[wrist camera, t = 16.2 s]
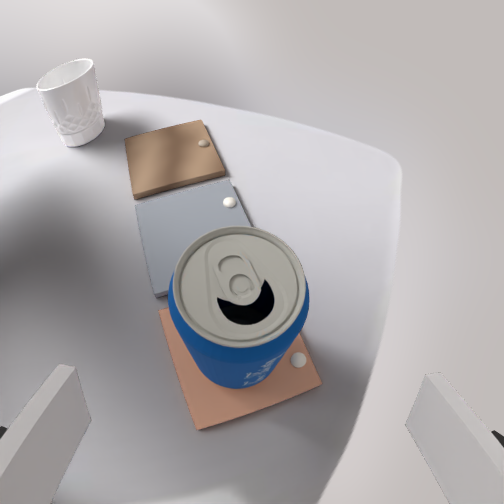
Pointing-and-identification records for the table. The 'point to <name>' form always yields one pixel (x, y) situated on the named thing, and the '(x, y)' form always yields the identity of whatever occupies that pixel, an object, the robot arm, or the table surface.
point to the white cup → (73, 101)
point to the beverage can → (238, 303)
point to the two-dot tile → (183, 225)
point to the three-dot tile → (237, 400)
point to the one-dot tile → (171, 158)
